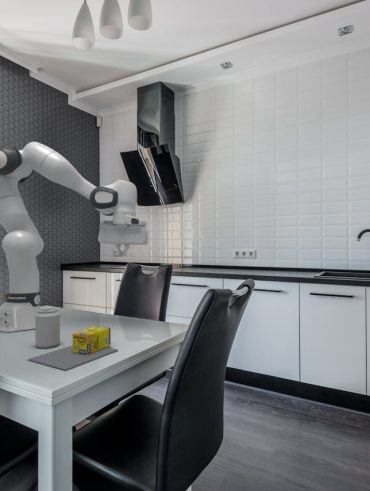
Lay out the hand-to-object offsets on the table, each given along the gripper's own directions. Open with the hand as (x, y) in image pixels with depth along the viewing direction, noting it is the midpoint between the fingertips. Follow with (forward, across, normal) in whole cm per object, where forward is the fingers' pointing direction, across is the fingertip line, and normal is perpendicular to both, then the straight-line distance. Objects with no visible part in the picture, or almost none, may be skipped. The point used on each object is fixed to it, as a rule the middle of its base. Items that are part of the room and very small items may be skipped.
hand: (121, 255), depth 133 cm
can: (+32, -13, -24) cm, 42 cm away
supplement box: (+27, +5, -21) cm, 34 cm away
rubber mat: (+31, +1, -32) cm, 44 cm away
